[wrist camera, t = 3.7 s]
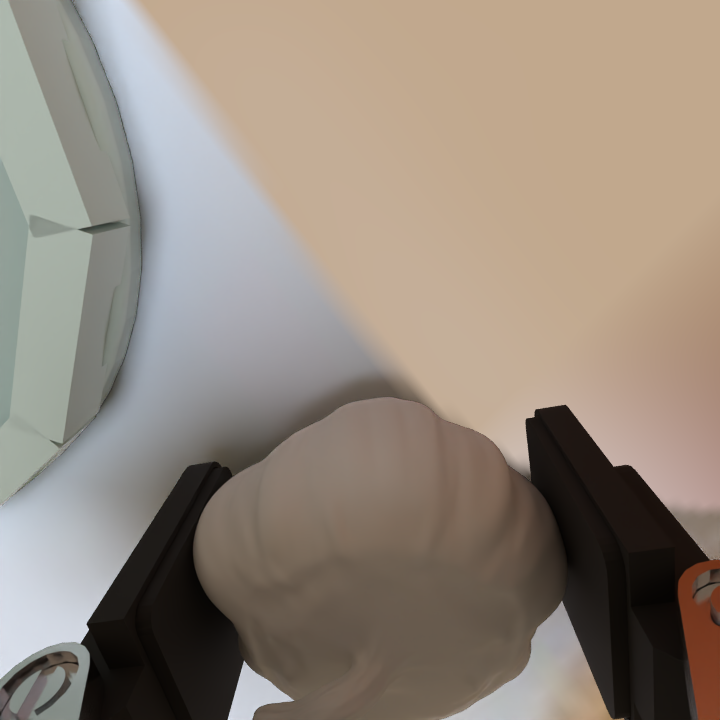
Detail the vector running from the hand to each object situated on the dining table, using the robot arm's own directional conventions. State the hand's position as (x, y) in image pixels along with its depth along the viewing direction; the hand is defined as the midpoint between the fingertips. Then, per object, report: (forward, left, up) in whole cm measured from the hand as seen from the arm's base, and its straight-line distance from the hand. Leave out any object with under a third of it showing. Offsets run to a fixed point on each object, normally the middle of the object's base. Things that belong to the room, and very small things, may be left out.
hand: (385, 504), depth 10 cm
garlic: (0, 0, -1) cm, 1 cm away
